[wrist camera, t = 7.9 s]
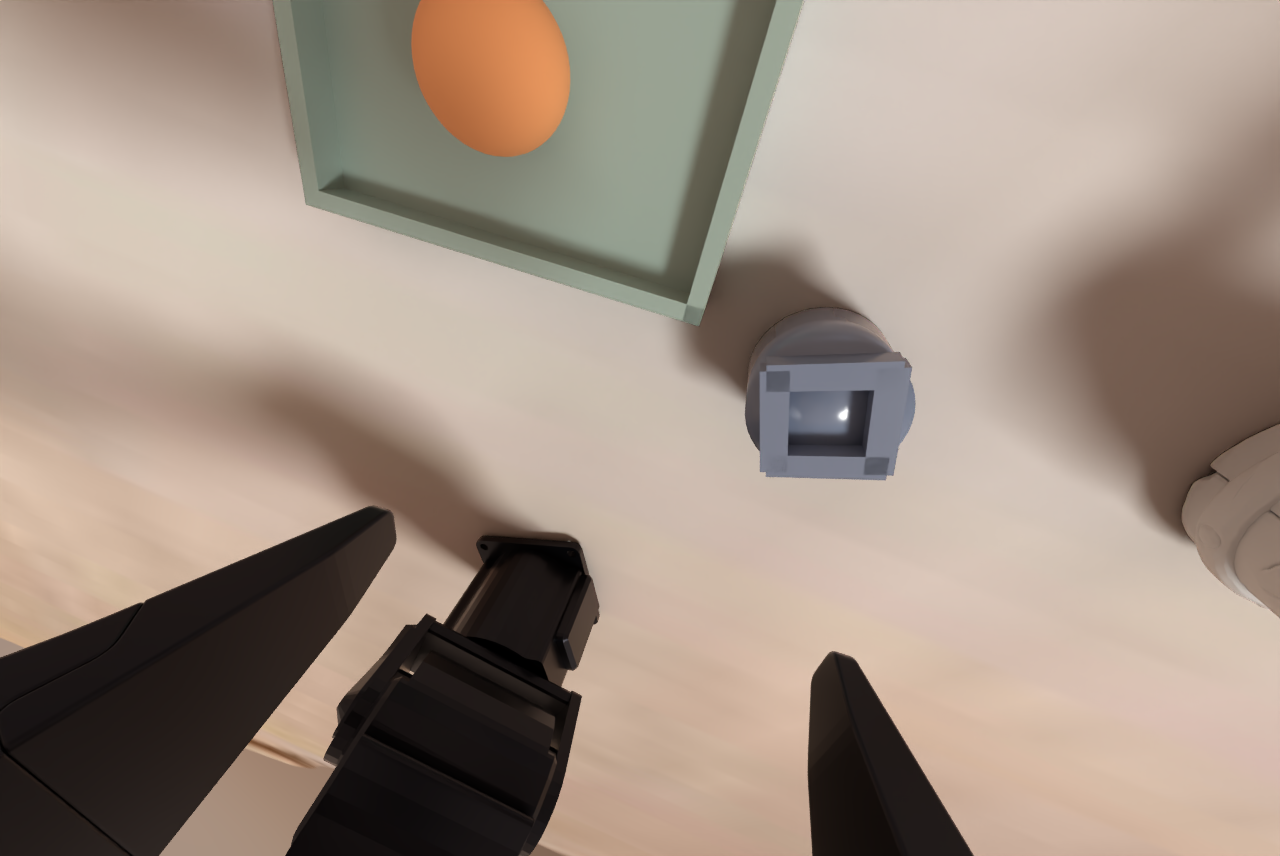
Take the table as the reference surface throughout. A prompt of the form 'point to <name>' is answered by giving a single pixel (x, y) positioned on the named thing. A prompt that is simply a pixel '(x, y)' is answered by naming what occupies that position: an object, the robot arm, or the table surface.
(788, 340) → the cylinder with square socket
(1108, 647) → the table surface
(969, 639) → the table surface
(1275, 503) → the mug
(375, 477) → the table surface
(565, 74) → the ball
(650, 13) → the tray
